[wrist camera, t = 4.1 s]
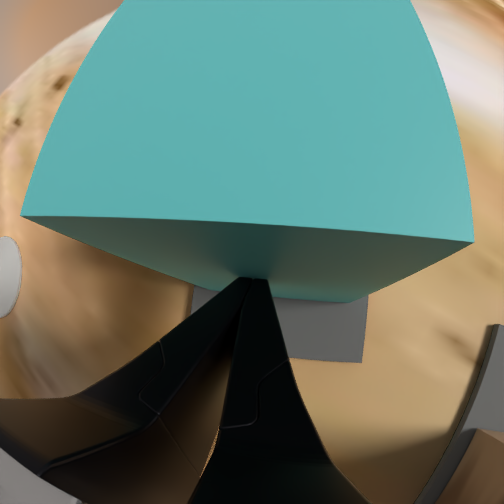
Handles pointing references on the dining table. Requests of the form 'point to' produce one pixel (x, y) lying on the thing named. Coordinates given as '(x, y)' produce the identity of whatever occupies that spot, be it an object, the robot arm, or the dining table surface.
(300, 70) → the teal block
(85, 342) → the dining table surface
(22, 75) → the dining table surface
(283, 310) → the dark gray pads
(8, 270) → the wineglass
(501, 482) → the walnut block
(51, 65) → the dining table surface
